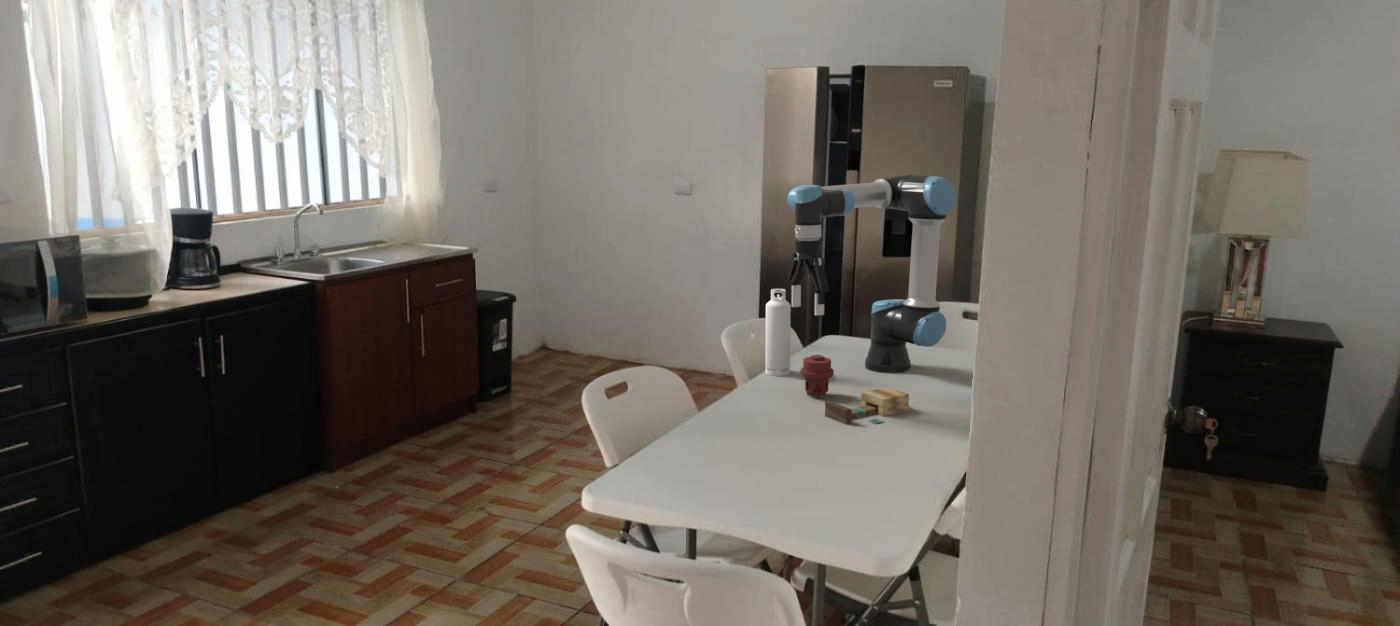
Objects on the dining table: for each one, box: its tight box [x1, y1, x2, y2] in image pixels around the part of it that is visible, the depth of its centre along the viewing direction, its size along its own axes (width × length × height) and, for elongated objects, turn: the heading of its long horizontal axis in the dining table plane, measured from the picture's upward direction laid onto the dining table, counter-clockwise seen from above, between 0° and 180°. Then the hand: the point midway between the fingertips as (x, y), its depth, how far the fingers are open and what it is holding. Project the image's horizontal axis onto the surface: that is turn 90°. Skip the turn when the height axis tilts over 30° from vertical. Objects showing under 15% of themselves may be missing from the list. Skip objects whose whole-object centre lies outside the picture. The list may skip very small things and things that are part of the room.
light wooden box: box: [860, 386, 910, 417], centre depth 281 cm, size 10×9×5 cm
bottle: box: [764, 288, 792, 377], centre depth 319 cm, size 8×8×28 cm
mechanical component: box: [799, 354, 834, 399], centre depth 295 cm, size 12×10×10 cm
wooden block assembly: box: [824, 401, 885, 425], centre depth 278 cm, size 24×18×4 cm
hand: (807, 310), depth 286 cm, fingers open, 13 cm apart
